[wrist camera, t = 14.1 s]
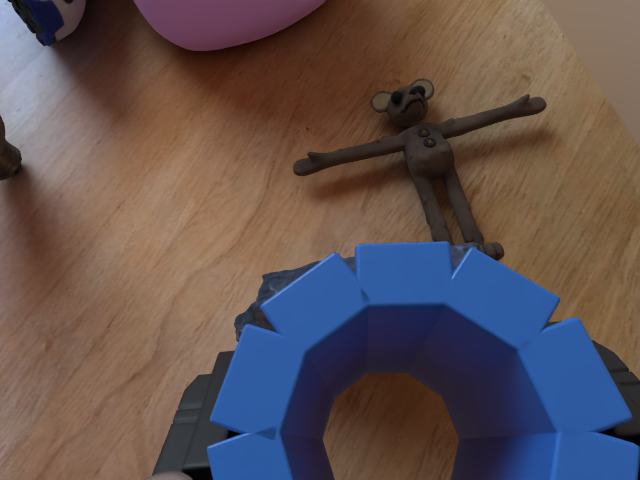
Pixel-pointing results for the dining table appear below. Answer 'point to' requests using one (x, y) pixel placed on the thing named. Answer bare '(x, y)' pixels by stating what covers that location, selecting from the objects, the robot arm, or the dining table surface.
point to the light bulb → (8, 156)
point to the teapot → (221, 20)
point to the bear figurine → (427, 153)
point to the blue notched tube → (423, 369)
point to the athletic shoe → (50, 17)
